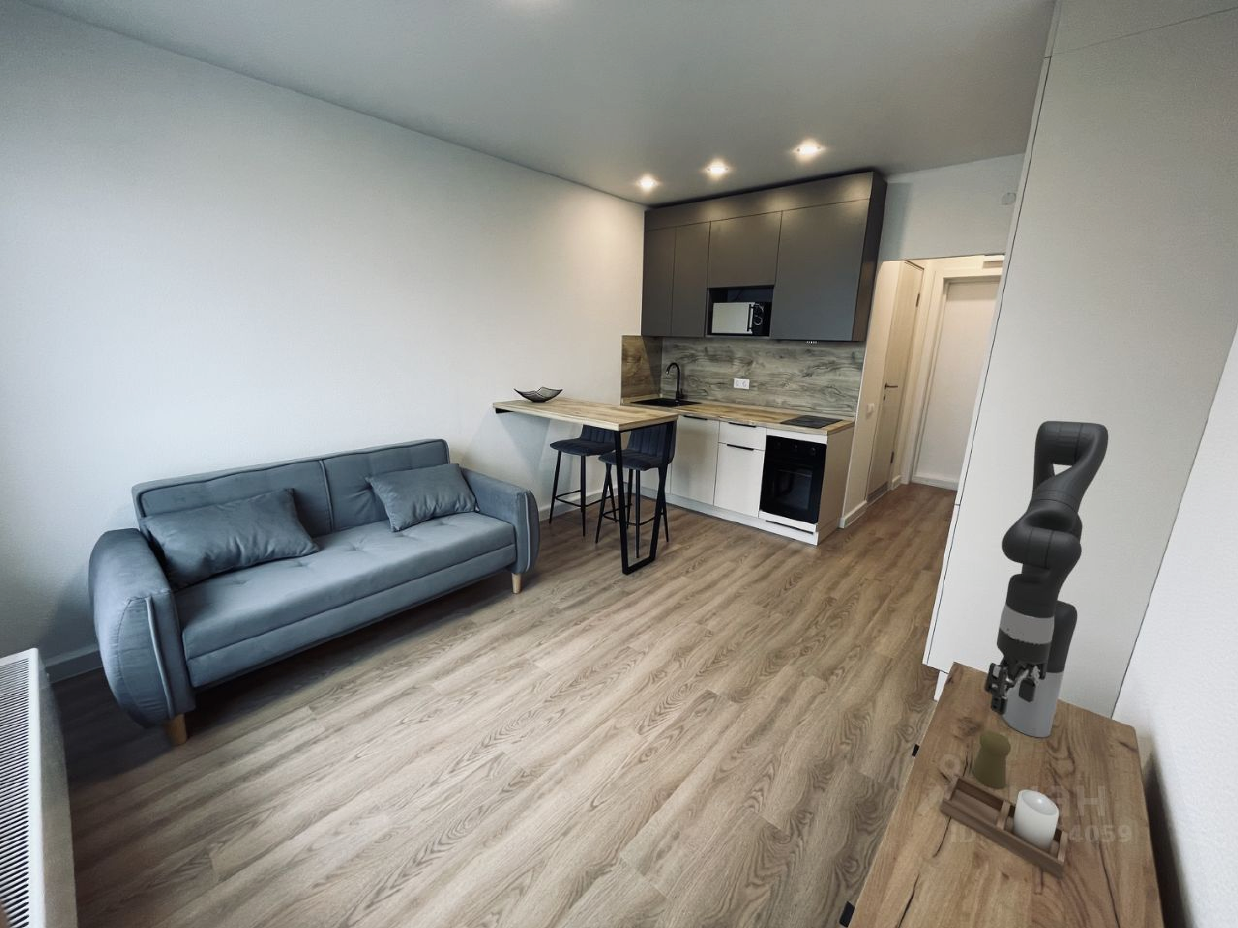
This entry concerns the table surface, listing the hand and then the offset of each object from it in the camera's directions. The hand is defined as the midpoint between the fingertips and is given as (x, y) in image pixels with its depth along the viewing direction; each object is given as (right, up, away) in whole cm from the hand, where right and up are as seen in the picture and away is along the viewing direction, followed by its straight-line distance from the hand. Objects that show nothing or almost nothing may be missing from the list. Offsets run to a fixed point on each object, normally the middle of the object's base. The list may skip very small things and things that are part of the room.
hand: (1011, 705), depth 94 cm
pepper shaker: (+2, -21, +9) cm, 23 cm away
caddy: (-3, -23, -2) cm, 23 cm away
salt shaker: (-1, -23, -5) cm, 23 cm away
